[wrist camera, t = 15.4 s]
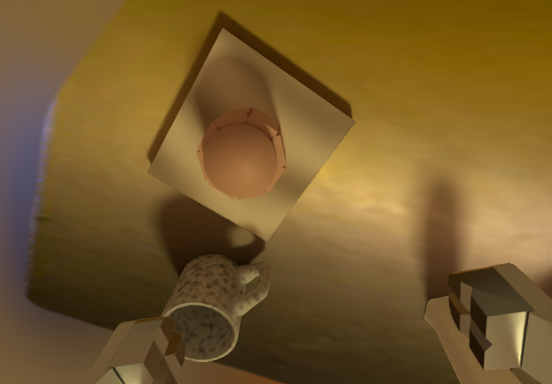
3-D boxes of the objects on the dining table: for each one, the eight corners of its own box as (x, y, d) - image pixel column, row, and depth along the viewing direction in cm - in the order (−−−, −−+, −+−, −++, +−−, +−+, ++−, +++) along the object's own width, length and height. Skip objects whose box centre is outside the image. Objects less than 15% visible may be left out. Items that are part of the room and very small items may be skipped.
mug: (205, 315, 34) (188, 371, 27) (168, 270, 32) (141, 319, 25) (286, 279, 32) (287, 331, 25) (253, 228, 30) (246, 271, 23)
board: (225, 29, 23) (222, 27, 22) (352, 119, 25) (355, 121, 24) (152, 168, 27) (147, 172, 26) (267, 234, 30) (266, 241, 29)
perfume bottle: (411, 304, 32) (508, 483, 19) (451, 286, 31) (585, 460, 18) (429, 332, 34) (532, 519, 20) (468, 315, 33) (605, 499, 19)
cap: (298, 136, 25) (301, 150, 21) (258, 194, 27) (254, 217, 23) (233, 93, 24) (223, 99, 20) (197, 156, 26) (180, 174, 21)
